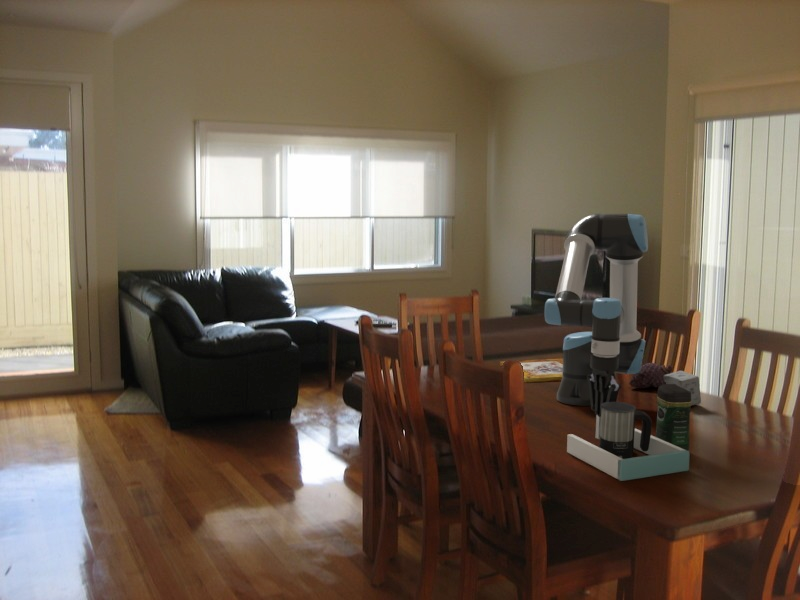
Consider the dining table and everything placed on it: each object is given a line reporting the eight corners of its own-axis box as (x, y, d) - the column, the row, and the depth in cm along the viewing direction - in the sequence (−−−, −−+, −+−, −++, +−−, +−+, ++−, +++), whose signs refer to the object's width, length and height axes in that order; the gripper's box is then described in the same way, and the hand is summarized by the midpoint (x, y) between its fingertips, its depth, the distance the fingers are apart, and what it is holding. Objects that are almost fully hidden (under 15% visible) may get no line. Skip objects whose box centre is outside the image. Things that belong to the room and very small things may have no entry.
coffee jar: (693, 455, 230) (696, 389, 228) (665, 457, 229) (668, 390, 227) (677, 445, 240) (680, 381, 237) (650, 446, 239) (653, 382, 236)
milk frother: (609, 467, 221) (613, 412, 219) (576, 447, 236) (580, 396, 233) (654, 461, 226) (659, 408, 224) (619, 442, 241) (623, 392, 238)
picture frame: (562, 358, 349) (593, 374, 319) (562, 363, 349) (592, 380, 320) (499, 361, 343) (525, 378, 314) (499, 366, 344) (525, 384, 314)
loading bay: (566, 452, 234) (567, 434, 233) (630, 443, 241) (630, 426, 241) (621, 481, 211) (621, 461, 210) (688, 470, 219) (689, 451, 218)
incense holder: (662, 401, 287) (663, 371, 285) (682, 399, 289) (684, 369, 288) (680, 409, 278) (681, 378, 276) (701, 406, 280) (702, 376, 279)
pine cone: (639, 393, 298) (627, 367, 301) (630, 400, 307) (618, 375, 310) (683, 377, 301) (671, 352, 304) (673, 384, 310) (661, 360, 314)
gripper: (579, 351, 237) (576, 432, 240) (607, 360, 225) (603, 445, 228) (602, 349, 239) (598, 430, 243) (630, 358, 227) (626, 443, 231)
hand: (600, 437), depth 235 cm, fingers closed
